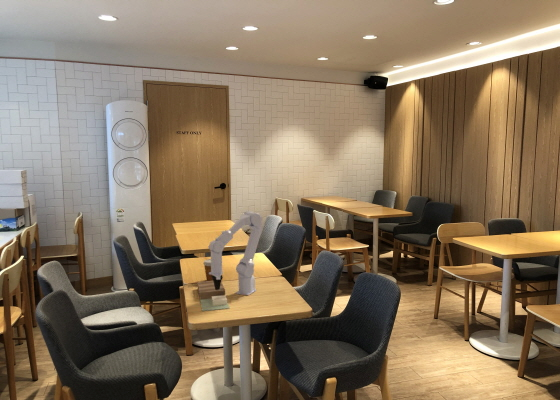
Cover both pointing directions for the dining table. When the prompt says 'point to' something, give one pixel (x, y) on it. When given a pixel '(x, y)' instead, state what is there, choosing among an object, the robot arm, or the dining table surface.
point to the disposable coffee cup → (208, 269)
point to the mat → (211, 305)
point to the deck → (209, 290)
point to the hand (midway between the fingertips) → (217, 289)
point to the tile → (219, 300)
